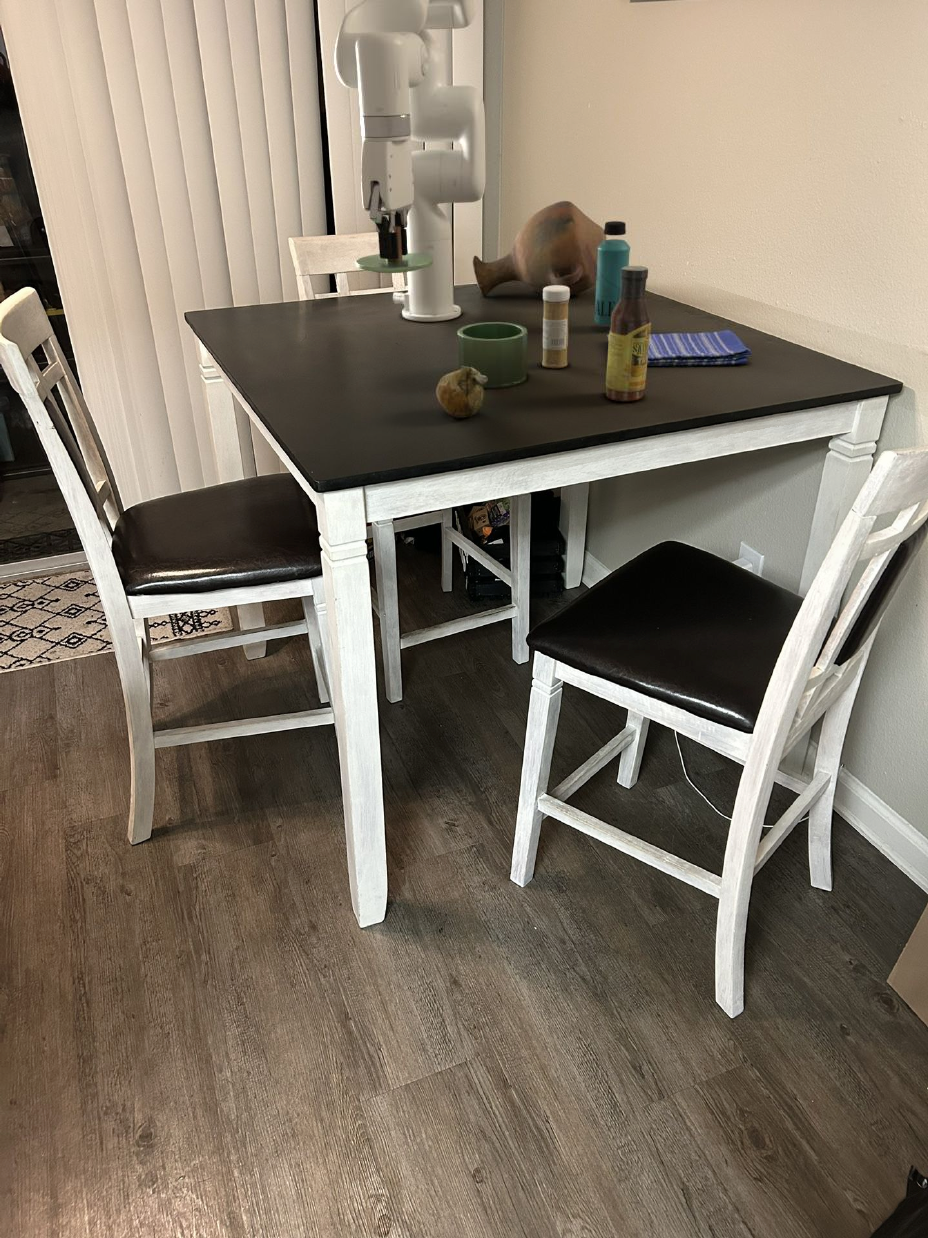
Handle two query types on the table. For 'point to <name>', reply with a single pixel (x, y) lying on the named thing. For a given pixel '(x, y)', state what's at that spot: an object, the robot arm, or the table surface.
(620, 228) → the beverage bottle
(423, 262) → the tin lid
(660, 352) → the dish towel
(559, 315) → the sprinkles bottle
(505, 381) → the tin
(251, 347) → the table surface
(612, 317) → the sauce bottle
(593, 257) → the jug
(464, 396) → the onion
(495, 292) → the table surface
